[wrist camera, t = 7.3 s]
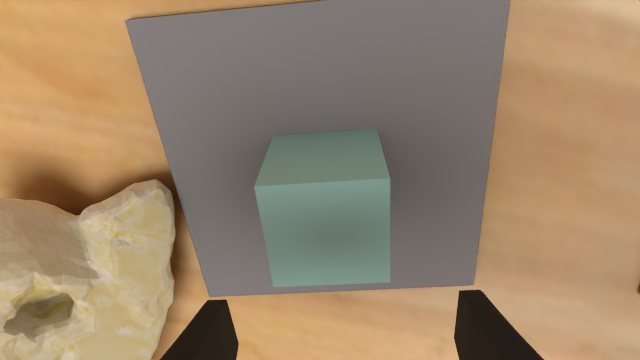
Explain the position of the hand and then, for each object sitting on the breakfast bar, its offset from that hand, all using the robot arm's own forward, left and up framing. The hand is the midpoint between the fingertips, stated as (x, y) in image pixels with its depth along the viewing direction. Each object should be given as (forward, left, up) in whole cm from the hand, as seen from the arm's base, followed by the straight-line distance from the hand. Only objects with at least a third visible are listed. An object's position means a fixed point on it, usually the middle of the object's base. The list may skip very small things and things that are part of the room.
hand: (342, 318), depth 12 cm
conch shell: (+13, +6, -10) cm, 18 cm away
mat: (+1, -1, -9) cm, 9 cm away
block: (+1, 0, -9) cm, 9 cm away
